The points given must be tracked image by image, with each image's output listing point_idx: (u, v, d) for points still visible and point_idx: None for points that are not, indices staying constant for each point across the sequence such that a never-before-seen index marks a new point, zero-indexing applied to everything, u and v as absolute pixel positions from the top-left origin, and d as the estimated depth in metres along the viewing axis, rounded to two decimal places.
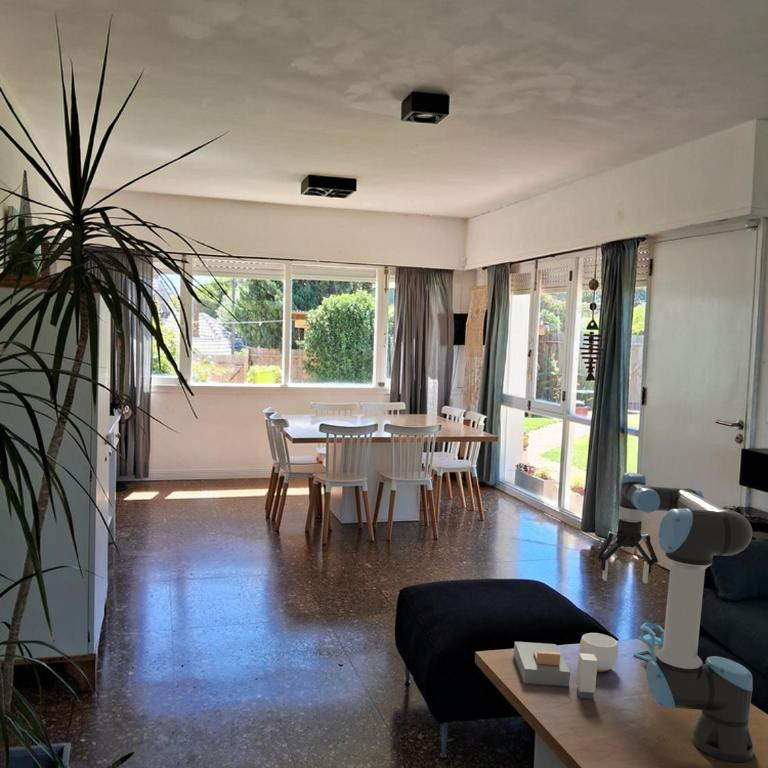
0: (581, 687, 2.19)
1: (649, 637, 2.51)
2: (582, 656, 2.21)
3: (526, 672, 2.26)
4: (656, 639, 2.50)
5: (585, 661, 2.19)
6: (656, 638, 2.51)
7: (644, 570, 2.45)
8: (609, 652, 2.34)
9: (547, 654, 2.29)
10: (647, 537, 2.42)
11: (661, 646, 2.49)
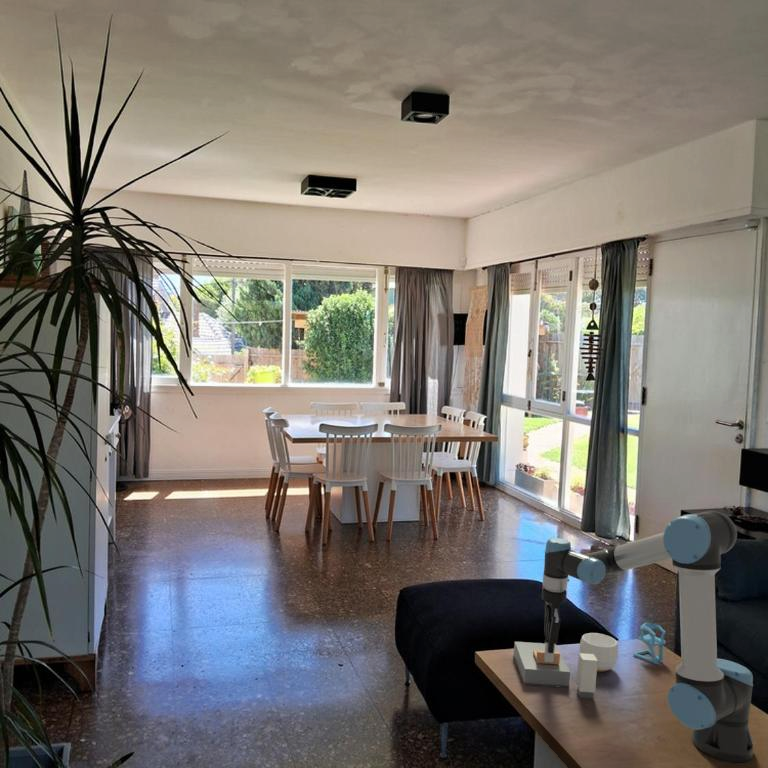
0: (581, 687, 2.19)
1: (649, 637, 2.51)
2: (582, 656, 2.21)
3: (526, 672, 2.26)
4: (656, 639, 2.50)
5: (585, 661, 2.19)
6: (656, 638, 2.51)
7: None
8: (609, 652, 2.34)
9: None
10: (552, 617, 2.22)
11: (661, 646, 2.49)
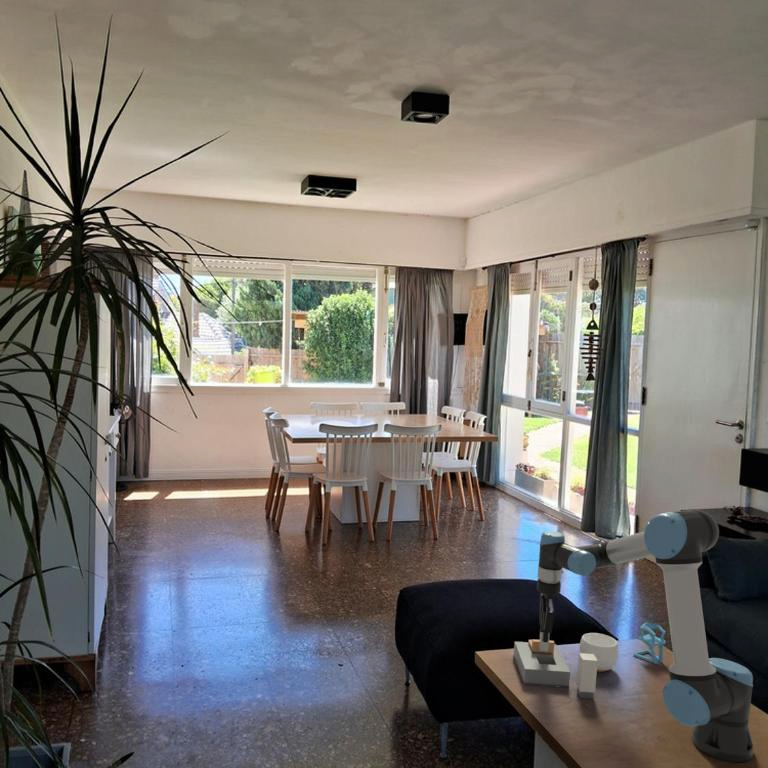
0: (581, 687, 2.19)
1: (649, 637, 2.51)
2: (582, 656, 2.21)
3: (526, 672, 2.26)
4: (656, 639, 2.50)
5: (585, 661, 2.19)
6: (656, 638, 2.51)
7: None
8: (609, 652, 2.34)
9: None
10: (547, 608, 2.30)
11: (661, 646, 2.49)
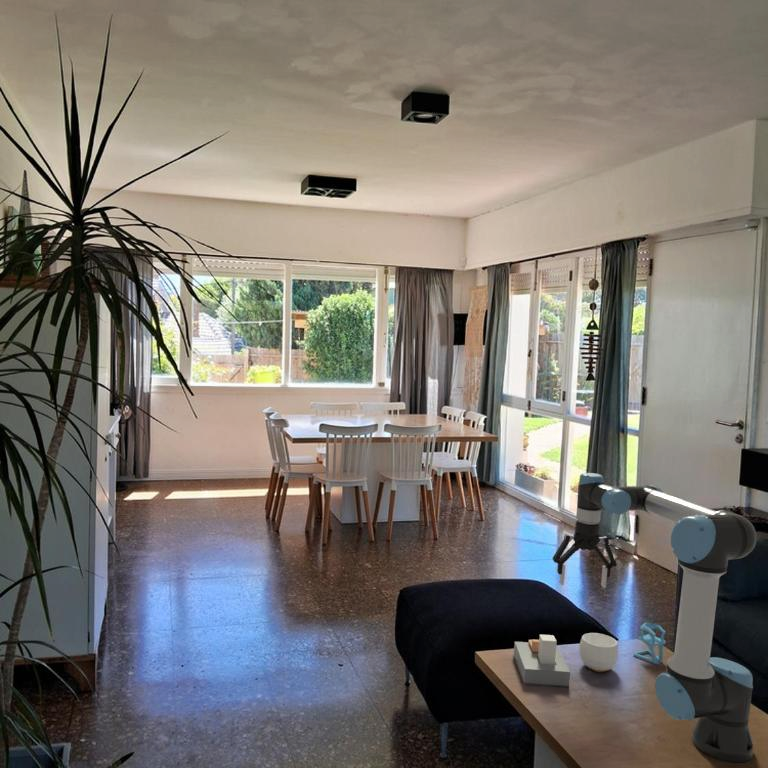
0: None
1: (649, 637, 2.51)
2: (542, 637, 2.32)
3: (526, 672, 2.26)
4: (656, 639, 2.50)
5: (545, 641, 2.30)
6: (656, 638, 2.51)
7: (603, 574, 2.36)
8: (609, 652, 2.34)
9: None
10: (605, 540, 2.33)
11: (661, 646, 2.49)
